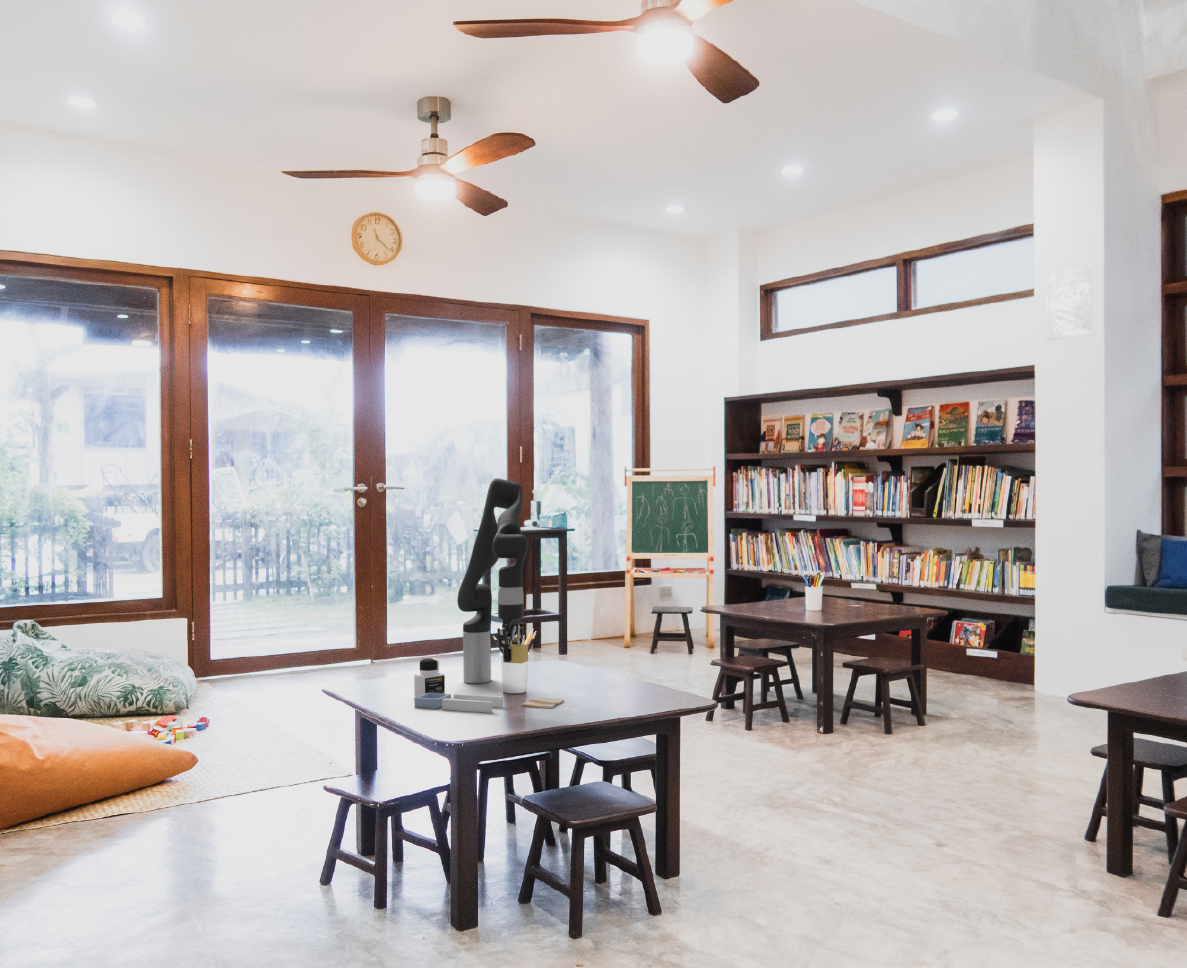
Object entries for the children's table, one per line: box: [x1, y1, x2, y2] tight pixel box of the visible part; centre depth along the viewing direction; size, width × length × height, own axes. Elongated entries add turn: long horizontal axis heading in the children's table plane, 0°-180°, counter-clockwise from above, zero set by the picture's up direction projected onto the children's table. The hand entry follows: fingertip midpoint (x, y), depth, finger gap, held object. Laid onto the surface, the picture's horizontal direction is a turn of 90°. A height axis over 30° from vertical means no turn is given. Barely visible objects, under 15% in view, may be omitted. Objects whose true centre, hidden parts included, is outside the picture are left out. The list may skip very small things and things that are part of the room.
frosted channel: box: [441, 693, 504, 714], centre depth 280 cm, size 16×8×3 cm, turn 70°
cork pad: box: [520, 697, 565, 709], centre depth 284 cm, size 10×10×1 cm
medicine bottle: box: [413, 657, 446, 698], centre depth 297 cm, size 7×7×12 cm
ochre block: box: [502, 643, 529, 664], centre depth 275 cm, size 4×6×5 cm
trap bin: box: [414, 693, 452, 710], centre depth 284 cm, size 8×8×3 cm
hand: (511, 660), depth 276 cm, fingers closed on ochre block, 4 cm apart
